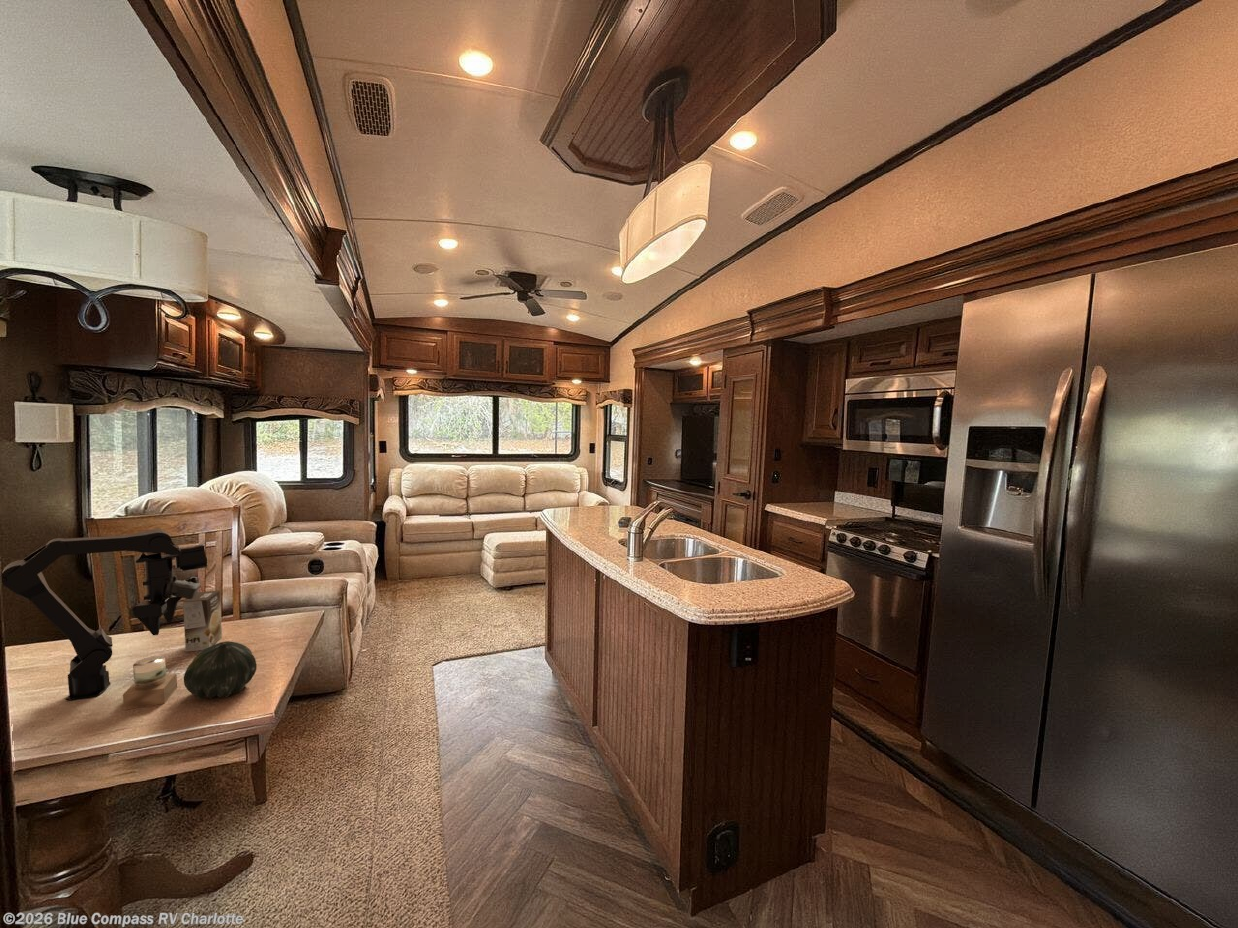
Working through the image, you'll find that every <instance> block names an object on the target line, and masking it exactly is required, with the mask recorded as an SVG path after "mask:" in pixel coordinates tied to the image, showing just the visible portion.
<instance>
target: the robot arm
mask: <svg viewBox="0 0 1238 928" xmlns="http://www.w3.org/2000/svg"><path fill="white" fill-rule="evenodd" d="M172 539H173V538H172V537H171V535H170V534H169V533H168V531H166V530H165V529H162V528H154V529H147V530H142V531H138V532H135V533H130V534H126V535H125V534H124V535H123V534H122V535H111V536H110V535H107V536H90V537H71V538H70V537H69V538H62V537H57V538H53V539H51V540H49V541H48V542H46V544H44V545H43V546H41V547H39V548H38V549H37V550H34V551H33V552H31V553H30V554H29V555H27V556H26V557H24V558H23V559H18V560H14V561H11V562H10V563H8V564H7V565H6V566H5V567H4V568H3V570H2V572H1V574H2V583H3V585H2V586H3V587H5V588H7V589H8V590H10V592H12V593H14V595H15V594H16V595H17V596H20V597H21V598H24V599H26V600H27V601H29V602H31V604H32V605H34V607H36V609H38V611H39V612H40V613H41V614H43V615H44V617H46V619H47V620H49V622H50V623H51V624H53V626H55V627H56V628H57V630H58V631H60V632H61V633H62V634H63V635H64V636H65V637H66V638H67V639H68V640H69V641H70V644H71V646H72V648H73V649H74V651H75V654H76V655H75V656H74V657H73V658H72V659H71V660H70V662H69V665H70V666H69V673H68V674H67V684H68V696H67V697H65V701H66V702H67V701H72V700H80V699H86V698H87V699H88V698H93V697H98V696H100V695H101V694H102V693H103V692H104V691H105V690H106V689H108V687H110V686H111V685H112V683H111V682H110V672H109V670H107V666H106V663H108V661H110V659H112V655H113V648H112V647H113V646H114V645H113V638H112V637H111V636H110V635H107V633H106V632H105V631H104V629H103V627H100V628H99V629H97V630H93V629H91V628H89V627H88V626H87V625H86V624H85V623H84V622H83V621H82V620H81V619H80V617H78V616H77V615H76V614H75V613H74V612H73V610H72V609H70V608H69V606H68V605H67V604H66V603H64V601H63V600H62V599H61V598H59V596H58V595H57V594H56V593H55V592H54V591H53V590H52V589H51V588H50V586H49V585H48V584H49V583H47V581H46V578H45V576H44V574H43V572H44V571H45V570H46V569H47V568H48V567H49V566H50V565H51V564H53V563H54V562H55V561H57V560H58V559H59V558H61V557H62V556H70V555H83V554H98V553H99V554H100V553H112V552H135V553H140V554H139V555H138V556H136V557H135V558H134V561H135V563H136V564H139V563H144V572H145V573H144V574H145V580H143V581H142V586H146V587H145V589H146V594H145V595H143V601H140V602H139V603H138V604H136V605H135V606H134V607H132V609H131V617H132V618H135V619H137V620H138V621H140V622H141V624H143V626H145V628H146V629H147V630H148V631H149V633H150V634H151V635H152V636H158V635H159V633H160V627H161V618H162V616H163V618H164V619H165V621H166V623H172V622H173V620H174V617H175V613H176V610H177V605H178V603H179V602H180V600H182V598H183V599H185V600H186V599H193V597H194V596H196V595H197V592H199V589H200V588H201V582H200V581H199V578H198V577H197V576H192V577H190V578H188V579H187V580H186V579H183V580H179V578H178V575H177V574H174V569H173V568H174V567H173V559H174V566H175V569H179V570H180V571H181V572H185V571H186V572H187V571H193V570H198V569H204V568H207V567H208V558H207V556H206V550H205V545H204V544H197V545H193V546H187V547H179V545H178V544H177V543H174V542H173V540H172ZM162 553H164V554H162Z"/></svg>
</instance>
